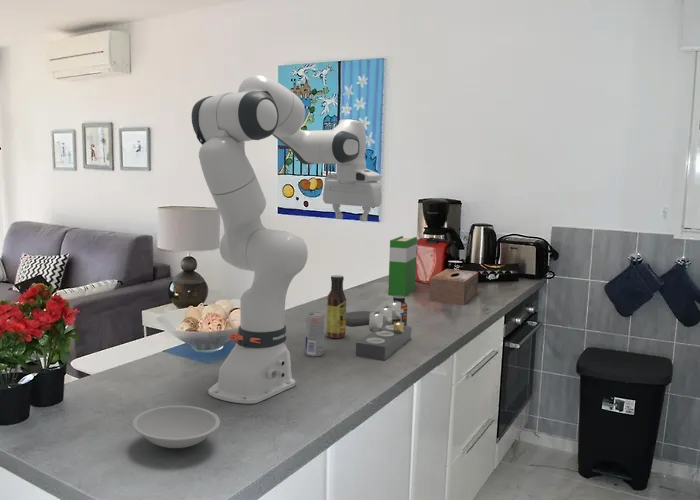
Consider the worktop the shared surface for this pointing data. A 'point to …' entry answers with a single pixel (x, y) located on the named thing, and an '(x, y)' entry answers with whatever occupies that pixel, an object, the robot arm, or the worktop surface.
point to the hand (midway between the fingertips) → (351, 220)
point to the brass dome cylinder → (398, 327)
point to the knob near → (376, 321)
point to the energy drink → (314, 334)
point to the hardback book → (402, 266)
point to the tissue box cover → (453, 286)
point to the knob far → (395, 309)
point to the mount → (382, 343)
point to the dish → (176, 425)
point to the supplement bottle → (403, 310)
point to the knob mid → (386, 315)
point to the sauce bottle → (336, 309)
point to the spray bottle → (357, 318)
